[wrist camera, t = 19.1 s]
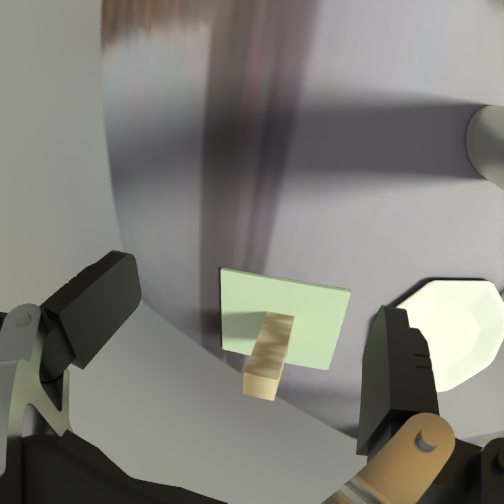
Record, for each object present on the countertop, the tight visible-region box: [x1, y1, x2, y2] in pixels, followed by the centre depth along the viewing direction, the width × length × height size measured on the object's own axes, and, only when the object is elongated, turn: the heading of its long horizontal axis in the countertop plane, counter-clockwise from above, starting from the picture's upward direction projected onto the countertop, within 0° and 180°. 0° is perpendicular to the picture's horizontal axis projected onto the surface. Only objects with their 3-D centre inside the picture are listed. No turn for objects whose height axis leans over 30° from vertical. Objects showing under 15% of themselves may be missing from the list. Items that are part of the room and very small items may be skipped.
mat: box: [221, 268, 351, 370], centre depth 45 cm, size 18×16×1 cm
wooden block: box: [243, 311, 295, 401], centre depth 40 cm, size 4×4×12 cm
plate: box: [395, 280, 504, 392], centre depth 39 cm, size 24×24×2 cm
